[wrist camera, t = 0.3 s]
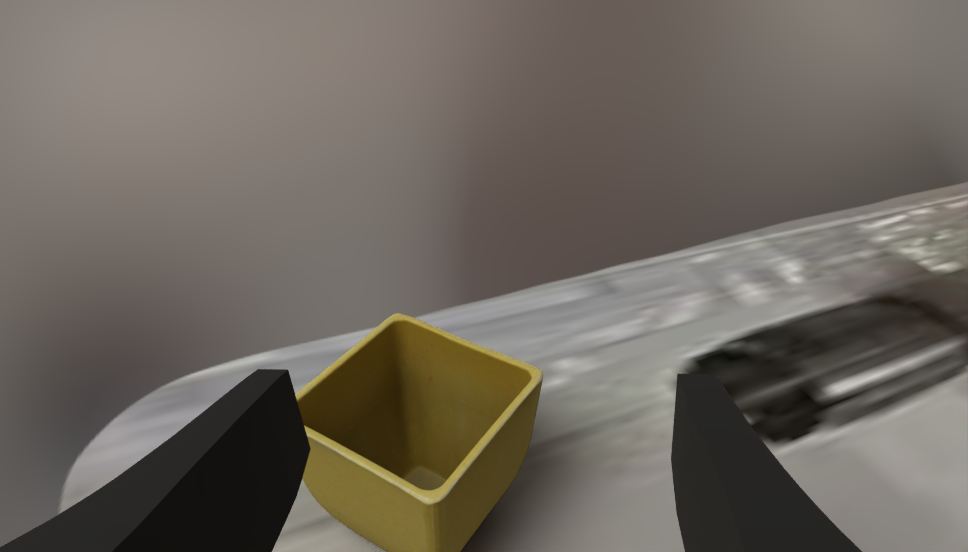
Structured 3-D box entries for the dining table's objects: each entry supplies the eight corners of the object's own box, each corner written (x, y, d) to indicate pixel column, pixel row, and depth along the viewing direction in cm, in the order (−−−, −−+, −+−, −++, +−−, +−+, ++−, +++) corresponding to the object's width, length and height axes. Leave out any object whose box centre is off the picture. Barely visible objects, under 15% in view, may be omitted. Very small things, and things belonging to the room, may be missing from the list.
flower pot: (298, 542, 34) (267, 412, 29) (407, 430, 40) (396, 307, 35) (443, 637, 30) (435, 506, 25) (539, 498, 36) (548, 370, 31)
